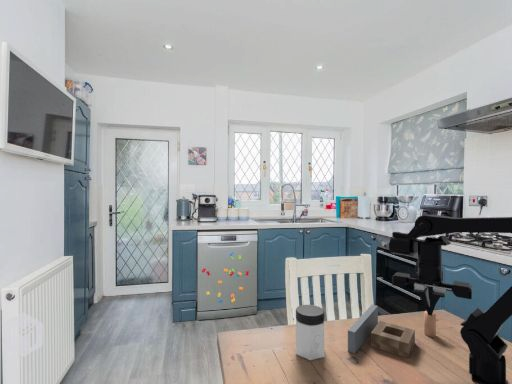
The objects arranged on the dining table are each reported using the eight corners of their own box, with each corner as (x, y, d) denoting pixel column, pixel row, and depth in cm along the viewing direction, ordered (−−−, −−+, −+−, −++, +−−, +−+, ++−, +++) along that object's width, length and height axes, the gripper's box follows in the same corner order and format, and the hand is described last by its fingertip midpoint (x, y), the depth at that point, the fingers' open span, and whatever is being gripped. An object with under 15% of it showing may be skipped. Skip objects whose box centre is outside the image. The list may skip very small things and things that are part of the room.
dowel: (436, 334, 90) (436, 312, 90) (435, 338, 88) (435, 315, 88) (425, 331, 92) (424, 310, 92) (423, 335, 90) (423, 313, 90)
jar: (303, 363, 75) (303, 318, 75) (289, 347, 82) (289, 306, 83) (331, 356, 78) (331, 313, 78) (316, 341, 85) (315, 302, 86)
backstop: (377, 323, 98) (377, 306, 98) (354, 353, 79) (354, 332, 79) (371, 321, 99) (371, 304, 99) (347, 351, 80) (347, 330, 80)
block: (414, 343, 85) (414, 329, 85) (408, 358, 77) (408, 343, 77) (380, 333, 91) (380, 320, 91) (371, 346, 83) (371, 332, 83)
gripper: (471, 258, 79) (472, 314, 79) (399, 250, 90) (399, 299, 90) (471, 266, 70) (472, 329, 70) (391, 256, 82) (391, 310, 81)
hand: (430, 315), depth 78 cm, fingers closed
